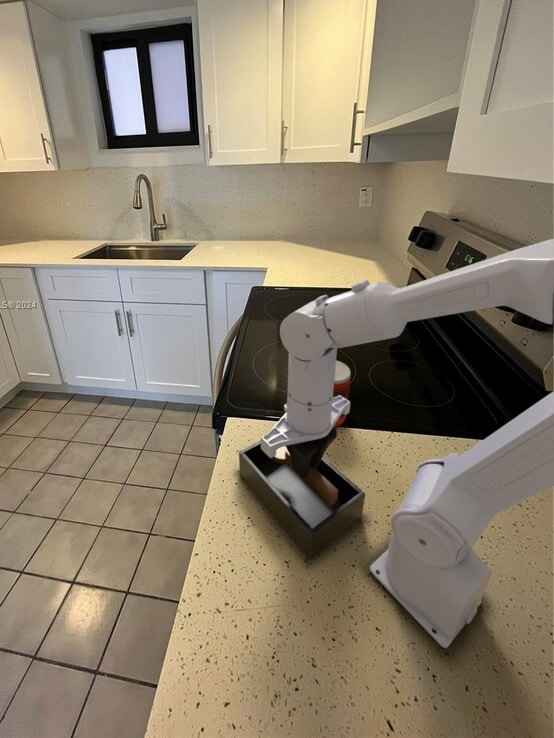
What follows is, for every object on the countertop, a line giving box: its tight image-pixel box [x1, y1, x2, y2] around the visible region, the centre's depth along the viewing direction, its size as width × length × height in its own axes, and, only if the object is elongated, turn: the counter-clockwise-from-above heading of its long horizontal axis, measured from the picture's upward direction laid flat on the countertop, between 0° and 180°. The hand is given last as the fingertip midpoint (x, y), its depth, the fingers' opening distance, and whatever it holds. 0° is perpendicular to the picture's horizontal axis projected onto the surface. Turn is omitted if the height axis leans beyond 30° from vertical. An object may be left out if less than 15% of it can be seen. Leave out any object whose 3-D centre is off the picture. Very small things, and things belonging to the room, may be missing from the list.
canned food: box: [333, 359, 352, 429], centre depth 68 cm, size 8×8×11 cm
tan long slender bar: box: [271, 446, 338, 506], centre depth 51 cm, size 12×4×2 cm, turn 33°
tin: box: [238, 439, 366, 561], centre depth 53 cm, size 16×10×5 cm, turn 33°
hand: (305, 469), depth 51 cm, fingers closed on tan long slender bar, 1 cm apart
